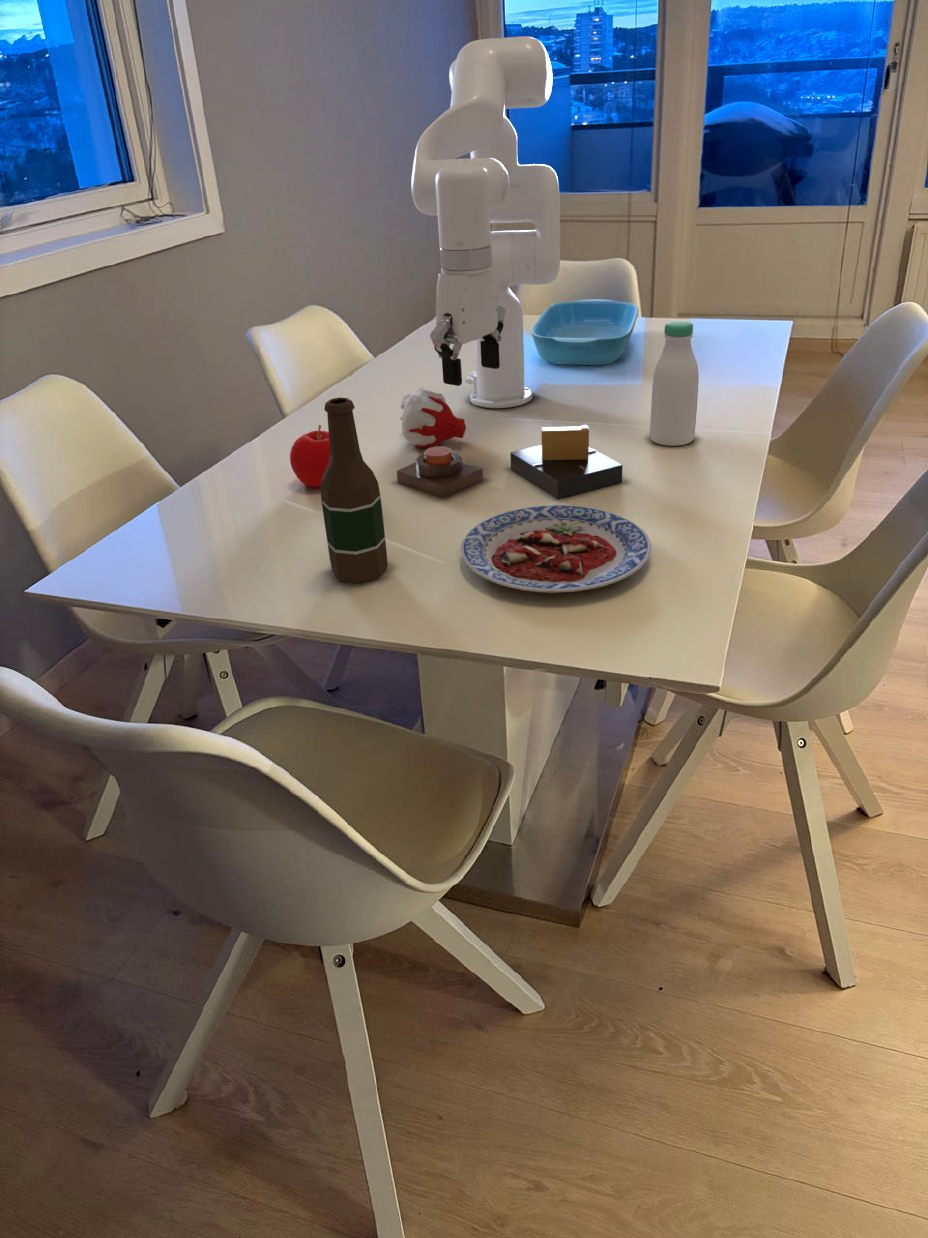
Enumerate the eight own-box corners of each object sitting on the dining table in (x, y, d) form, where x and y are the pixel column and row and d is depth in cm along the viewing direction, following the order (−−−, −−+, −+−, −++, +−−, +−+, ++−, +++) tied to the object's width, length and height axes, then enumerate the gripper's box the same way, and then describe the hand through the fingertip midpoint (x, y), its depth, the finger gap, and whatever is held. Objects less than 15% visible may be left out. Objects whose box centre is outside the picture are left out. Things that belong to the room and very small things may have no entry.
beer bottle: (332, 560, 133) (308, 393, 120) (388, 555, 133) (369, 388, 120) (330, 586, 126) (305, 413, 113) (388, 581, 126) (369, 407, 114)
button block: (397, 482, 155) (395, 460, 153) (435, 466, 161) (434, 443, 159) (445, 498, 149) (443, 475, 147) (483, 480, 154) (482, 457, 152)
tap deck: (510, 469, 158) (510, 451, 156) (571, 454, 162) (571, 436, 161) (557, 499, 146) (557, 480, 145) (622, 482, 151) (622, 463, 149)
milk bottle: (694, 447, 162) (703, 329, 151) (648, 446, 163) (654, 329, 153) (694, 431, 168) (702, 317, 158) (650, 430, 170) (656, 317, 159)
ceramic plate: (601, 624, 114) (601, 602, 112) (425, 578, 126) (423, 559, 125) (679, 538, 132) (680, 519, 131) (518, 506, 145) (518, 488, 143)
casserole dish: (626, 372, 201) (627, 338, 197) (523, 370, 206) (522, 337, 202) (641, 328, 231) (643, 298, 227) (551, 327, 236) (551, 298, 233)
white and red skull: (407, 425, 178) (479, 443, 173) (377, 445, 169) (453, 464, 164) (408, 379, 173) (483, 395, 168) (378, 397, 164) (456, 415, 159)
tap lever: (541, 460, 152) (541, 429, 149) (541, 456, 154) (541, 425, 151) (588, 459, 152) (589, 428, 149) (588, 455, 153) (588, 424, 150)
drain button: (419, 462, 153) (418, 452, 152) (438, 454, 156) (437, 444, 155) (438, 468, 150) (438, 458, 149) (457, 459, 153) (457, 449, 152)
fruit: (333, 496, 152) (325, 437, 147) (284, 491, 155) (274, 433, 150) (358, 474, 159) (351, 417, 154) (311, 470, 162) (302, 414, 157)
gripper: (480, 247, 145) (485, 358, 153) (408, 268, 133) (417, 387, 142) (521, 250, 141) (523, 364, 149) (449, 272, 129) (457, 394, 138)
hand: (472, 375), depth 146 cm, fingers open, 9 cm apart
